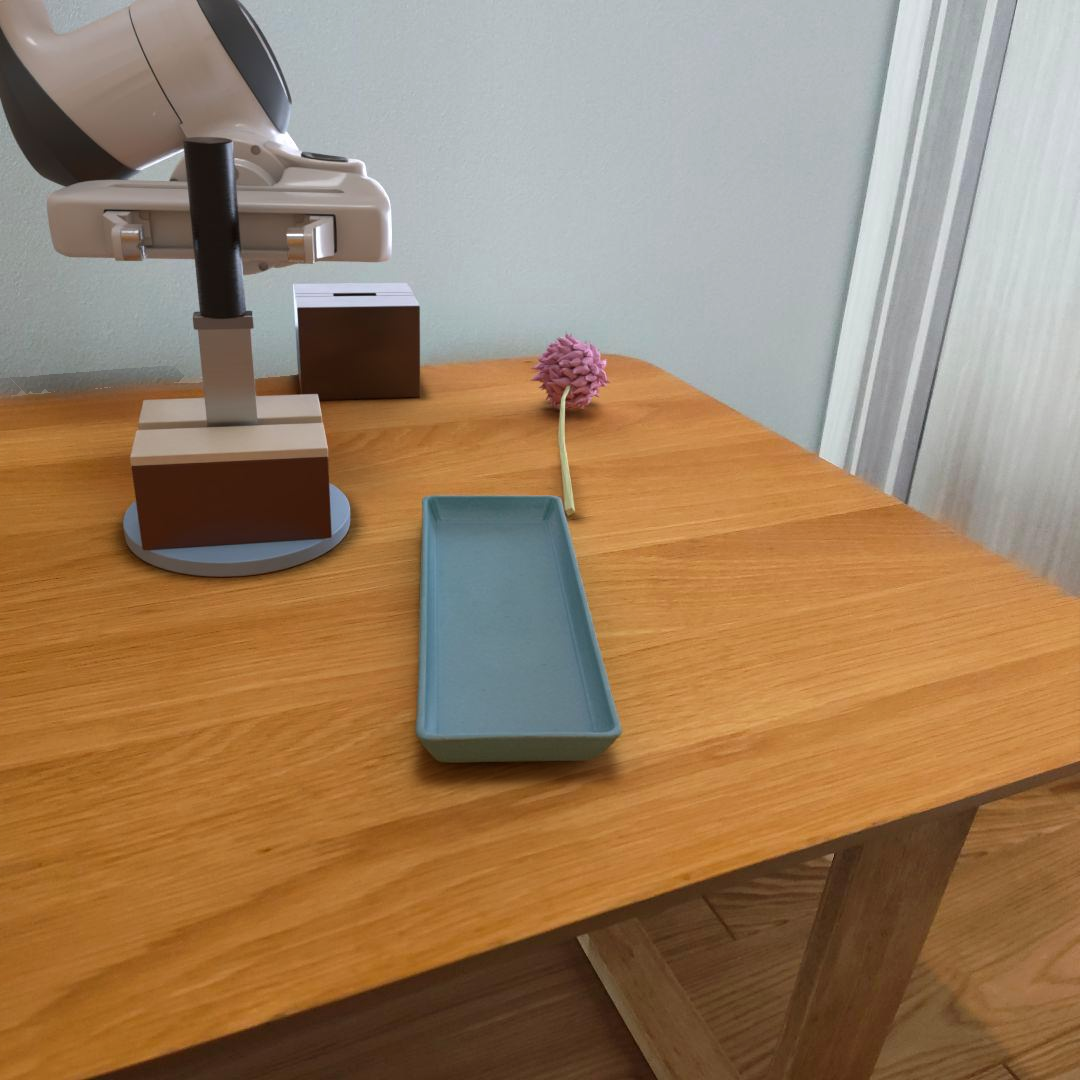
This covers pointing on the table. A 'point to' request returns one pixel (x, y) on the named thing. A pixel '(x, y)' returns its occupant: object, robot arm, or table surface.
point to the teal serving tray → (507, 636)
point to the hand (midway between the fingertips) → (214, 248)
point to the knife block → (357, 340)
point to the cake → (233, 489)
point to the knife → (220, 284)
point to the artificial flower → (570, 388)
